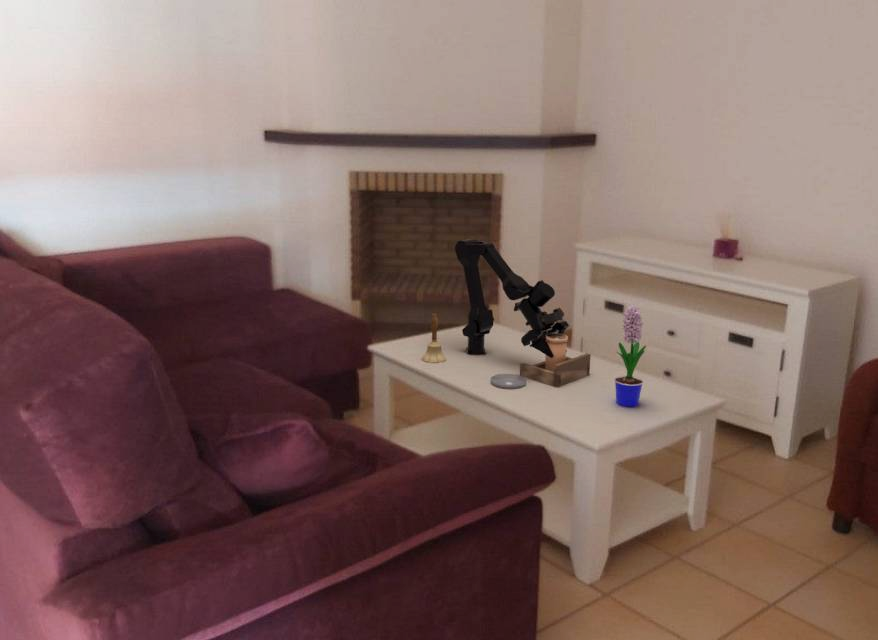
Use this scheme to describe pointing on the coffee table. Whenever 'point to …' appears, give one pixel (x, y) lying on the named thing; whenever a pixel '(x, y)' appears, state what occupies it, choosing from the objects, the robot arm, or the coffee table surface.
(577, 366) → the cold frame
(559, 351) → the pot
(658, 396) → the coffee table surface
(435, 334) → the hand bell
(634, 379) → the hyacinth
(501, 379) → the saucer
